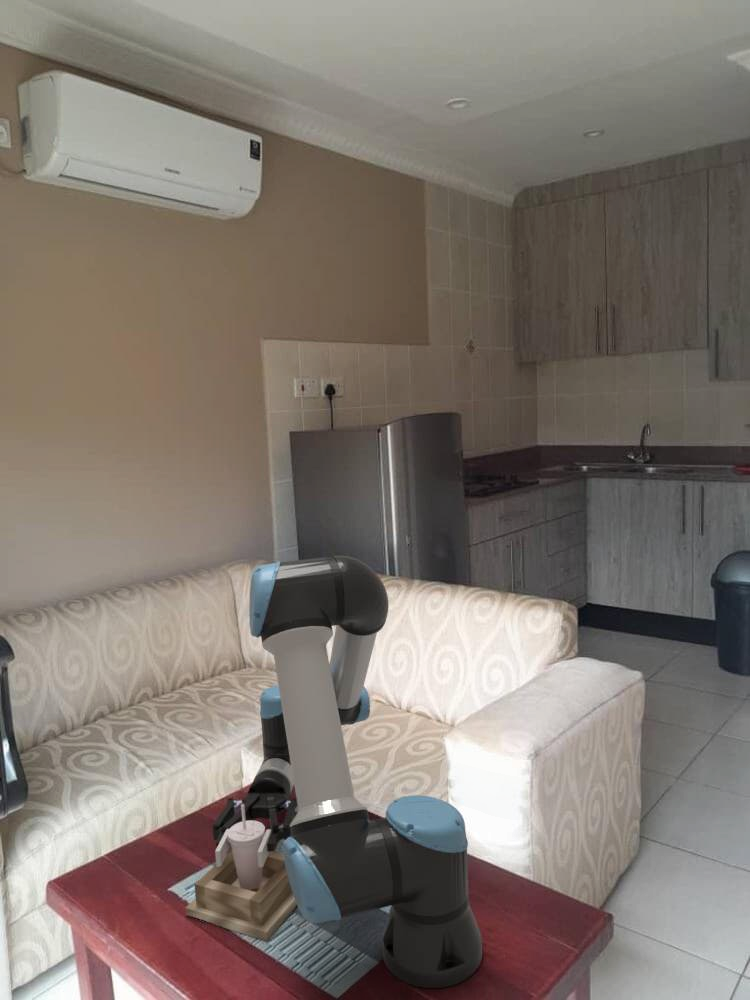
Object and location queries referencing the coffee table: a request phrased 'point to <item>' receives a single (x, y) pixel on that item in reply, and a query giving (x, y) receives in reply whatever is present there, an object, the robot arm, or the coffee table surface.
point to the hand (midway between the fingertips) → (239, 859)
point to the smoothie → (247, 850)
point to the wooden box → (244, 898)
